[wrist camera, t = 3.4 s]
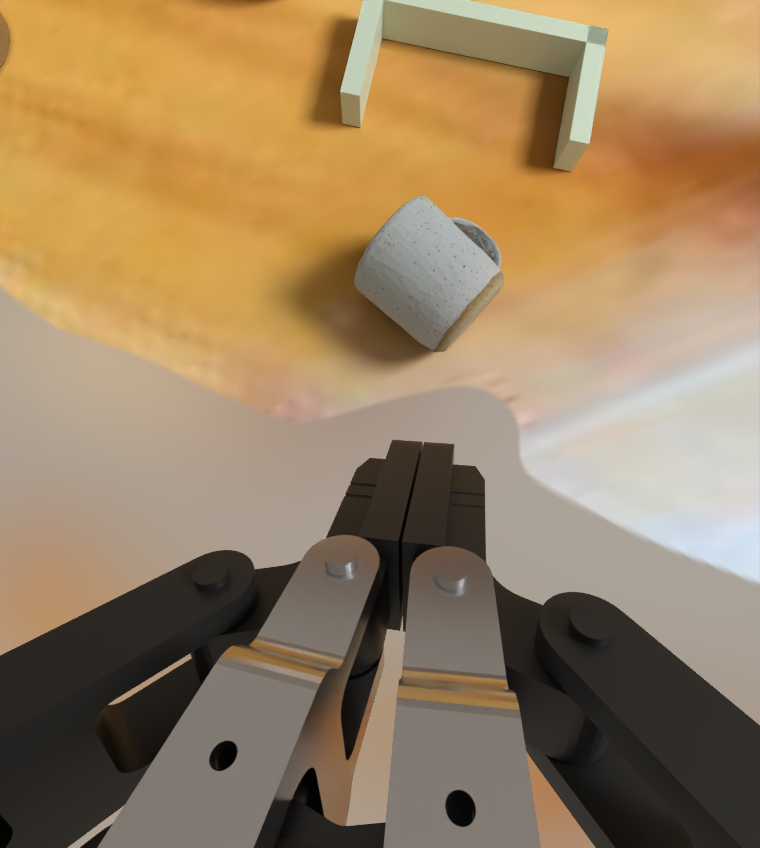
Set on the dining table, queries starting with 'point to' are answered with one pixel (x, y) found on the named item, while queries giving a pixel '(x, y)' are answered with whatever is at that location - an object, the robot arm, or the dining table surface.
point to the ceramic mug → (430, 272)
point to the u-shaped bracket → (484, 54)
